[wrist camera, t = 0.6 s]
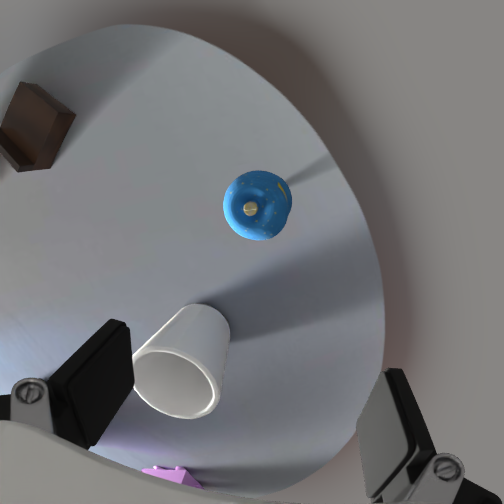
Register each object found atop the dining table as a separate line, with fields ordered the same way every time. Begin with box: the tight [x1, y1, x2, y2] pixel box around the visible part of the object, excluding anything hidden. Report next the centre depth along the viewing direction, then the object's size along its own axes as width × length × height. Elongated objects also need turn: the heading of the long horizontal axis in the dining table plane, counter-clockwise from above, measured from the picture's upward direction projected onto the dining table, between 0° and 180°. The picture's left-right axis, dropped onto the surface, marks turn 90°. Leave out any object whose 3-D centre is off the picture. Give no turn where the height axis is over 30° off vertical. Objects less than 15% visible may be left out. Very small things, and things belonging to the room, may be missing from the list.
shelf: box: [0, 82, 76, 172], centre depth 31 cm, size 9×12×7 cm
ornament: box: [223, 171, 292, 240], centre depth 27 cm, size 5×5×15 cm
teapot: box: [141, 466, 205, 490], centre depth 47 cm, size 20×10×12 cm, turn 112°
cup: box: [132, 303, 230, 419], centre depth 34 cm, size 10×10×13 cm
